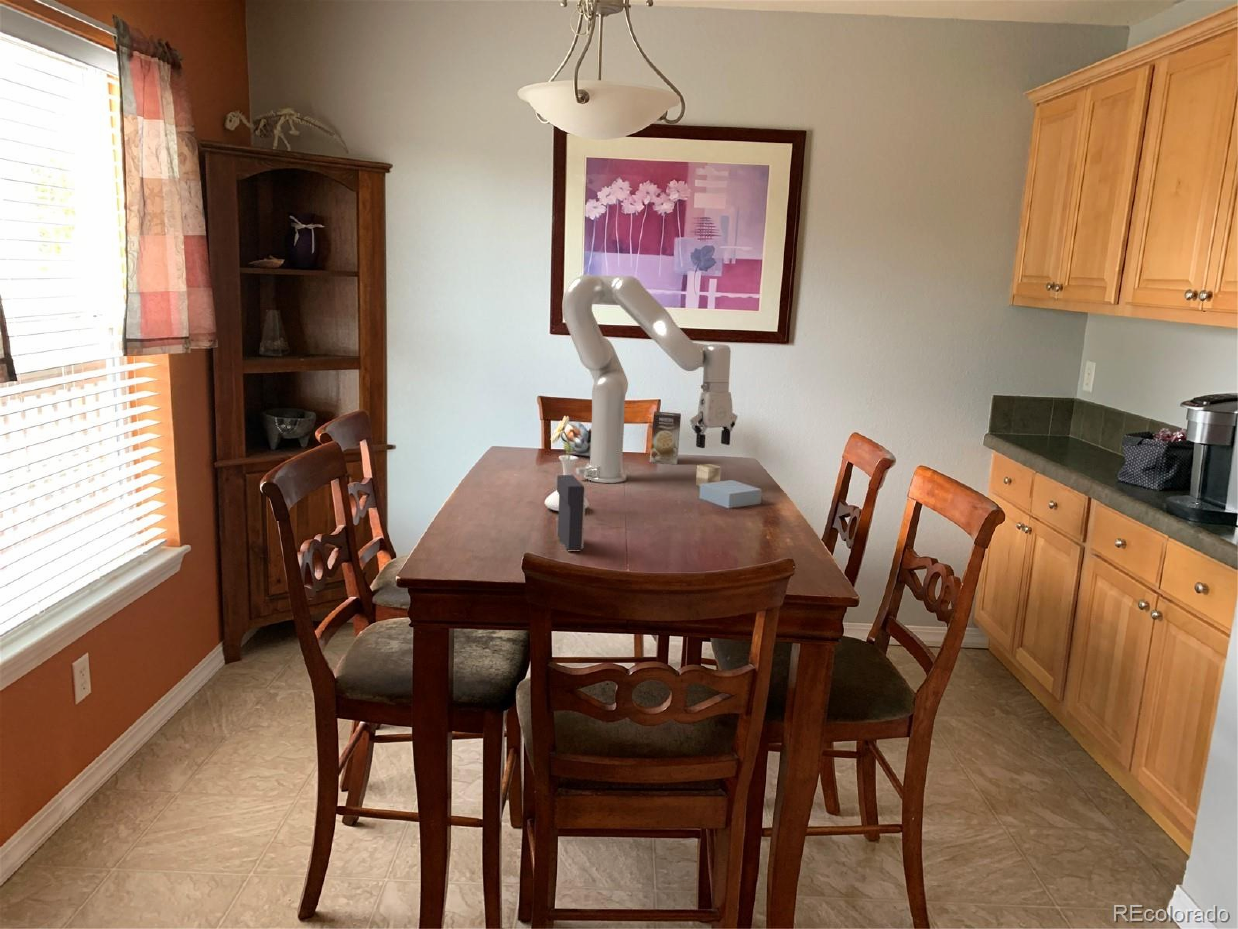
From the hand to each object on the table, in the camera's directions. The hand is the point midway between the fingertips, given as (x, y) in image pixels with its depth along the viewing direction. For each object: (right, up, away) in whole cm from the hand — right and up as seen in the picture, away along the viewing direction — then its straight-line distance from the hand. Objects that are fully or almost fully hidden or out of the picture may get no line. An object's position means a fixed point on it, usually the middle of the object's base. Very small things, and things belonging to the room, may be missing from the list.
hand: (712, 445), depth 266 cm
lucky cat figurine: (-40, -3, +37) cm, 54 cm away
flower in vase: (-41, -17, -32) cm, 55 cm away
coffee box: (-13, -5, +33) cm, 36 cm away
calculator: (-39, -24, -60) cm, 76 cm away
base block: (+3, -16, -13) cm, 21 cm away
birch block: (-1, -12, +3) cm, 12 cm away
